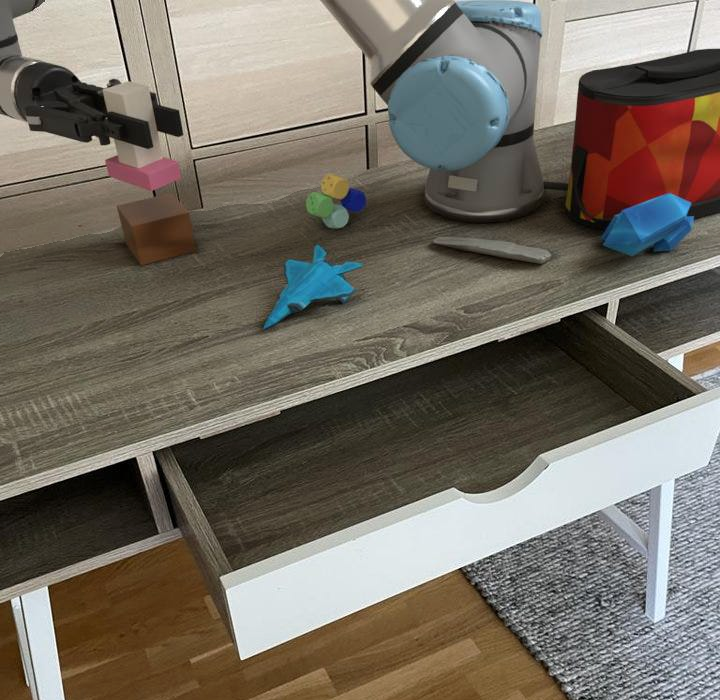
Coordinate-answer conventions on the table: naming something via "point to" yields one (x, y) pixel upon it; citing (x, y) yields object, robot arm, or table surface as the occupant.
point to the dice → (327, 209)
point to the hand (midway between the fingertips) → (163, 129)
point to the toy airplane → (311, 284)
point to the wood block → (157, 228)
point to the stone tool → (496, 248)
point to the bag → (647, 137)
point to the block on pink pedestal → (133, 160)
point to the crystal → (650, 225)
